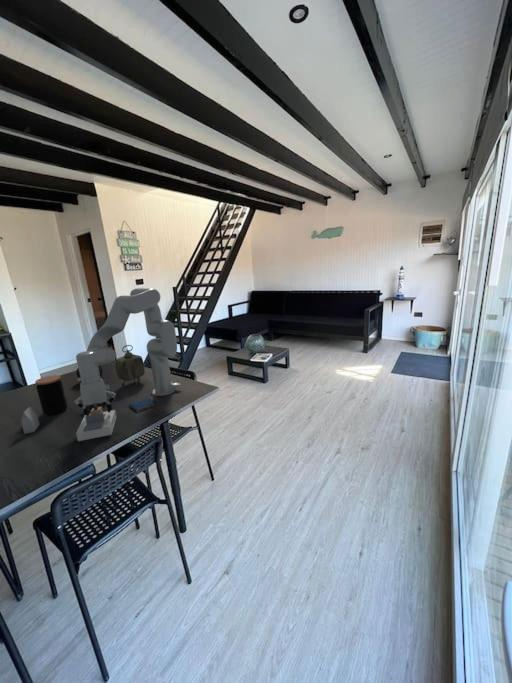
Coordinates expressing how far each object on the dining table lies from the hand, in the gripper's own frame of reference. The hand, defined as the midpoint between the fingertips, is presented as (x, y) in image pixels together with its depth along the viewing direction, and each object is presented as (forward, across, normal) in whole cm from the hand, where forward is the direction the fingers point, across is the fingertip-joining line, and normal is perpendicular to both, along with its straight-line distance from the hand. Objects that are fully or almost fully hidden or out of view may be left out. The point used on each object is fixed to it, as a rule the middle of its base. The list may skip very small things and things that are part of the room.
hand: (99, 413), depth 135 cm
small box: (+6, -4, +26) cm, 27 cm away
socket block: (+6, 0, -4) cm, 7 cm away
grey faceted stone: (+6, -30, +8) cm, 32 cm away
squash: (+6, -16, +64) cm, 66 cm away
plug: (+5, -1, -1) cm, 6 cm away
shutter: (+1, -1, -9) cm, 9 cm away
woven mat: (+7, +18, +12) cm, 22 cm away
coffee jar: (+6, -25, +24) cm, 35 cm away
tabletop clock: (+7, +11, +47) cm, 49 cm away
